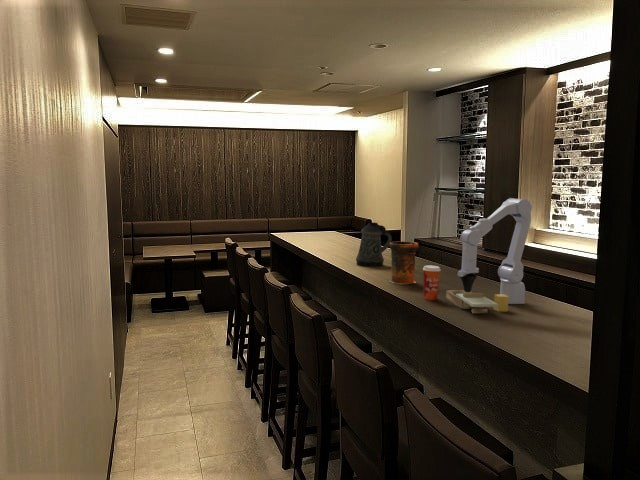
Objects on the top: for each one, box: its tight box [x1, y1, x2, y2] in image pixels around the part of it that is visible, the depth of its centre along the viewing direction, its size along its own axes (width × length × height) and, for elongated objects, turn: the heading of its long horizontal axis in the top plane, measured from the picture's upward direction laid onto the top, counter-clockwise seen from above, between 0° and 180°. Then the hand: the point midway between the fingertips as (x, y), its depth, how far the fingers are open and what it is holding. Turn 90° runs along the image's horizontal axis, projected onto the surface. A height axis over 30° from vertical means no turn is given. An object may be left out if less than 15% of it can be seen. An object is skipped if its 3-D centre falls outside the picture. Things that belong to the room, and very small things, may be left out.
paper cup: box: [422, 265, 442, 301], centre depth 228 cm, size 8×8×14 cm
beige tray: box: [445, 290, 488, 314], centre depth 217 cm, size 10×25×4 cm, turn 6°
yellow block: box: [493, 293, 509, 312], centre depth 211 cm, size 4×4×6 cm
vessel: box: [388, 241, 419, 285], centre depth 262 cm, size 14×14×20 cm
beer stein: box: [355, 222, 392, 268], centre depth 313 cm, size 16×19×25 cm
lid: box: [456, 292, 498, 308], centre depth 209 cm, size 10×18×3 cm, turn 6°
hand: (467, 291), depth 218 cm, fingers closed
